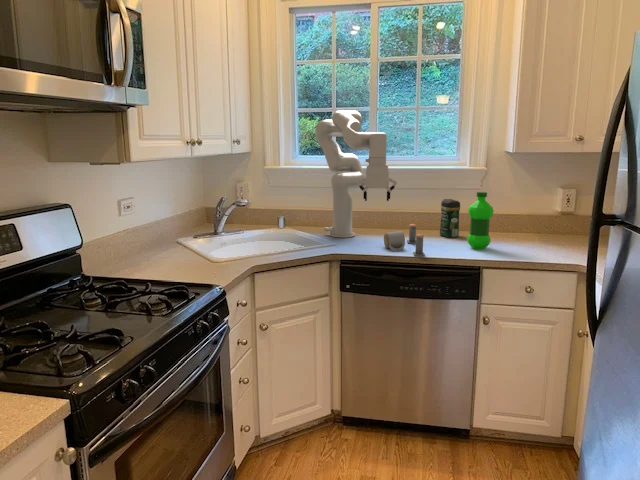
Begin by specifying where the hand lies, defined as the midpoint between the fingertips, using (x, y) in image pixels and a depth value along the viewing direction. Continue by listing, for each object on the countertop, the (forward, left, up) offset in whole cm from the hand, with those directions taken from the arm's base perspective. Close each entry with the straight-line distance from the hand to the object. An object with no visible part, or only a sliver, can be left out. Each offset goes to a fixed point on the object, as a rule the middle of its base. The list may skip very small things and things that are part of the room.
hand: (376, 200), depth 219 cm
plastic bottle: (+46, 0, -21) cm, 50 cm away
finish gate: (+18, -2, -21) cm, 28 cm away
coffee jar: (+37, +26, -21) cm, 51 cm away
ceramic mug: (+9, -2, -22) cm, 23 cm away
